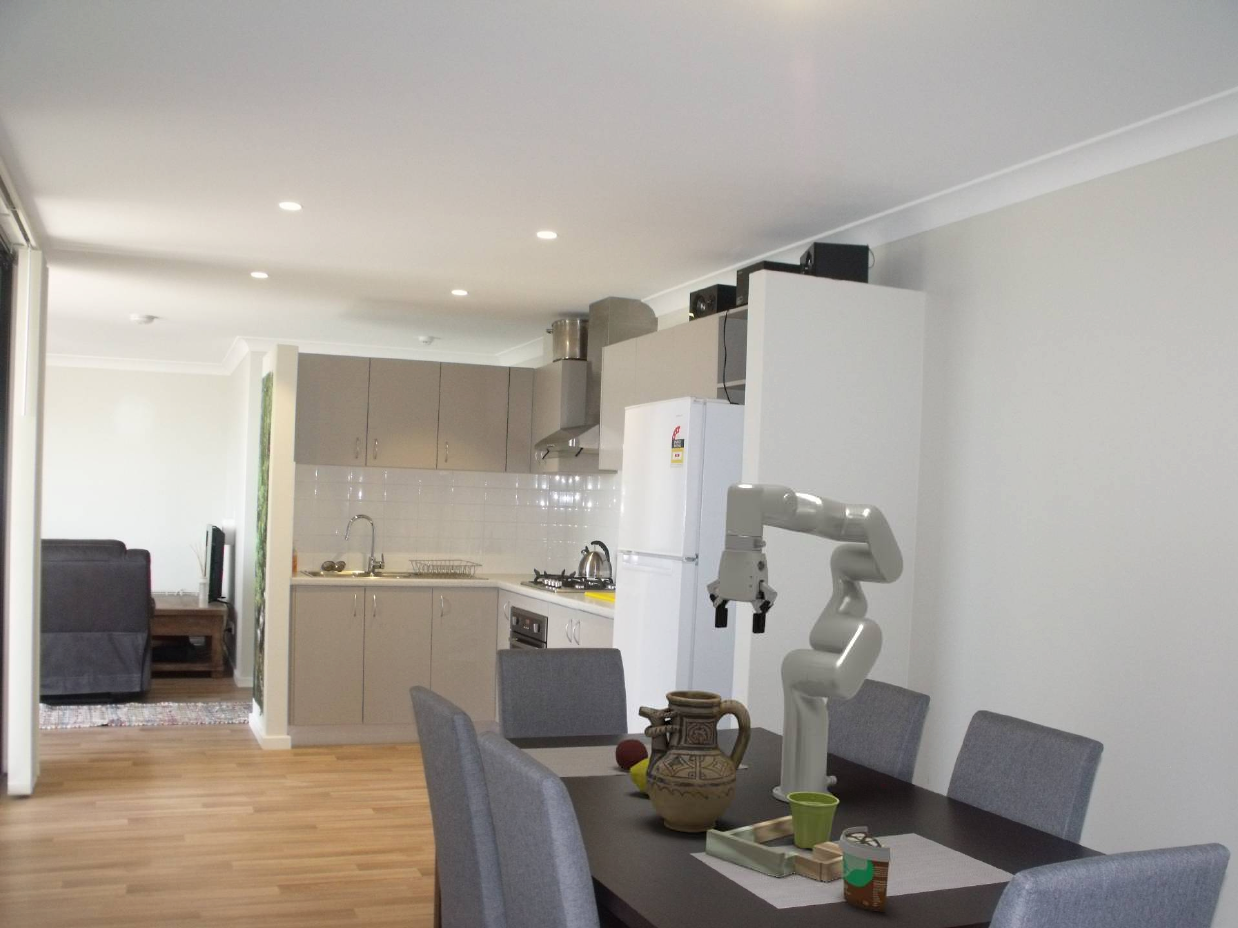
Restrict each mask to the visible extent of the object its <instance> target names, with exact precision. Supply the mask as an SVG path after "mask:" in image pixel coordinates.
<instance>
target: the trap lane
mask: <svg viewBox="0 0 1238 928" xmlns="http://www.w3.org/2000/svg"><path fill="white" fill-rule="evenodd" d="M790 835H794V831H793V821H792V814H791V815H790V814H789V815H788V816H782V817H778V818H774V819H769V820H767V821H761V822H759V823H755V824H750V825H747V826H742V827H737V828H734V829H730V830H726V831H720V830H717V829H715V828H713V829H711V830H707V831H706V843H705V844H706V845H705V854H707V855H709V856H712V857H715V858H717V859H721V860H723V861H727V862H729V861H730V863H733V864H735V863H736V864H735V865H738V866H741V865H743V866H742V867H744V866H746V867H745V868H747V867H748V869H750V868H752V869H751V870H753V869H754V870H753V871H756V870H758V871H760V872H759V873H761V872H764V873H767V874H770V875H774V876H776V877H781V876H783V875H787V876H789V875H788V874H791V873H794V872H795V873H794V874H796V873H797V875H799V874H801V875H800V876H802V875H805V876H807V877H806V878H808V877H811V878H813V879H812V880H814V879H817V880H823V881H829V880H832V879H835V878H838V877H841V878H843V877H842V876H843V851H842V850H841V849H840V848H839V846H838V845H839V843H834V842H831V841H829V842H825V843H821V844H818V845H814V846H813V850H812V857H809V856H806V855H803V854H800V853H796V852H794V851H790V852H787V853H786V852H785V851H782V850H779V849H776V848H773V847H769V846H766V845H763V844H761V843H765V842H769V841H771V840H772V841H773V840H776V839H781V838H783V837H784V838H785V837H787V836H790ZM880 845H881V846H882V847H886V845H885V844H882V843H880ZM758 871H757V872H758ZM764 873H763V874H764ZM767 874H766V875H767ZM770 875H769V876H770ZM791 875H792V874H791ZM805 876H804V877H805ZM776 877H775V878H776ZM781 878H782V877H781ZM811 878H810V879H811ZM838 879H839V878H838ZM817 880H816V881H817ZM835 880H836V879H835ZM823 881H822V882H823ZM832 881H833V880H832ZM829 882H830V881H829Z"/></svg>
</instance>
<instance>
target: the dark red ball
mask: <svg viewBox="0 0 1238 928" xmlns="http://www.w3.org/2000/svg"><path fill="white" fill-rule="evenodd" d="M614 753H615V761H616V765H618V766H619V768H621V769H622V770H625V771H628V770H629V771H628V772H630V768H631V767H633V766H635V765H636V764H638V763H639V762H641V761H642V760H644V759H647V758H649V752H648V750H647V748H646V745H645V744H644V743H643V742H642V741H641V740H639V739H634V738H632V739H631V738H630V739H624V740H622V741H621V742H619V743H618V744H617V746H616V748H615V752H614Z"/></svg>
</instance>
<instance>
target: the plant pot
mask: <svg viewBox="0 0 1238 928" xmlns="http://www.w3.org/2000/svg"><path fill="white" fill-rule="evenodd" d="M787 799H788V800H789V802H788V803H789V807H790V809H791V815H792V821H793V831H794V834H793V839H794V840H793V841H794V845H795V846H797V847H798V848H800V849H804V850H805V849H811V850H812V851H813V846H814V845H818V844H821V843H825V842H830V838H831V831H832V826H833V821H834V815H835V812H836V810H837V807H838V805H839V804H840V800H839V798H837V797H835V796H834V795H833V796H831V795H827V794H823V793H816V792H795V793H791V794H789V795H787Z"/></svg>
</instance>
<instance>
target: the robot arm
mask: <svg viewBox="0 0 1238 928" xmlns="http://www.w3.org/2000/svg"><path fill="white" fill-rule="evenodd" d="M726 494H727V495H726V512H725V515H726V516H725V536H724V550H722V552H721V556H720V561H719V565H718V566H719V567H718V571H717V572H718V573H717V579H716V580H714V581H712V582H710V583H708V584H706V588H707V592H708V595H709V599H710V601H711V603H712V607H713V608H715V615H714V628H716V629H723V628H724V629H725V628H727V627H728V620H729V619H728V617H729V615H728V614H729V608H728V607H726V606H727V605H728V604H729V602H730V601H733V602H740V603H750V604H751V606H752V607H753V609H754V611H755V612H753V613H752V628H751V632H752V634H755V635H757V634H765V631H766V621H767V620H766V619H767V618H766V617H767V614H768V613H769V612H770V609H771V608H772V607H773V606H774V602H775V601H776V598H777V597H778V592H777V591H776V590H775V589H774V588H772V587H771V586H770V585H769V570H768V568H769V567H768V561H767V556H766V553H764V552H763V548H766V546H767V542H766V541H765V540H763V539H764V538H763V536H764V526H767V527H773V528H778V529H782V530H787V531H791V532H794V533H801V534H807V535H810V536H811V535H812V536H815V537H819V538H823V539H827V540H831V541H835V542H844V543H842V544H839V545H838V546H836V547H835V548H834V549H833V551H832V552H831V556H830V560H829V561H830V562H829V565H830V566H829V567H830V572H831V579H832V593H831V596H830V598H829V601H828V602H827V604H826V605H825V607H824V608H823V610H822V612H821V613H820V615H819V616H818V617H817V620H816V621H815V623H814V624H813V626H812V628H811V630H810V632H809V636H808V640H809V641H808V642H809V645H810V647H811V648H812V649H810V648H796V649H793V650H791V651H790V652H788V653H787V654H786V655H785V656H784V658H783V659H782V662H781V665H780V675H781V676H780V677H781V683H782V684H781V685H782V689H783V725H782V726H783V727H782V742H781V743H782V744H781V745H782V748H781V768H780V772H781V773H780V785H779V786H776V787H774V788H773V790H772V796H773V798H775V799H777V800H780V801H782V802H786V803H789V800H788V799H787V795H789V794H791V793H795V792H816V793H823V794H827V795H831V796H834V795H833V794H832V793H831V792H830V791H828V788H829V786H834V785H836V784H837V780H838V779H837V777H836V776H835V775H829V776H828V775H827V762H828V760H827V759H828V742H829V741H828V738H829V719H830V718H829V712H828V709H827V706H826V703H825V701H824V699H823V698H825V699H830V700H836V701H848V700H851V699H852V698H854V697H855V695H857V693H858V692H859V690H860V689H861V687H862V685H863V684H864V682H865V681H866V679H867V677H868V675H869V674H870V672H871V670H872V668H873V667H874V665H875V664H876V662H877V661H878V658H879V656H880V654H881V650H882V647H883V632H882V628H881V627H880V625H879V624H878V623H877V622H876V621H875V620H873V619H871V618H868V617H866V615H867V612H868V608H869V606H868V599H867V597H866V595H865V593H864V591H863V589H862V585H861V582H863V583H864V582H865V583H874V584H892V583H895V582H896V581H898V580H899V579H900V577H901V576H902V574H903V571H904V559H903V555H902V552H901V549H900V547H899V545H898V542H897V539H896V537H895V535H894V533H893V530H892V528H891V526H890V524H889V521H888V520H887V518H886V517H885V515H884V513H883V512H882V511H881V510H880V508H878V507H877V506H875V505H872V504H858V503H843V502H841V501H836V500H833V499H830V498H826V497H823V496H819V495H816V494H813V493H812V494H810V493H801V492H798V493H797V492H796V493H795V491H794V490H792V489H791V488H790V487H789V486H786V485H782V484H781V485H780V484H757V483H732V484H730V485H729V486H728V489H727V492H726ZM845 542H846V543H845ZM847 542H848V543H847Z"/></svg>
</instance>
